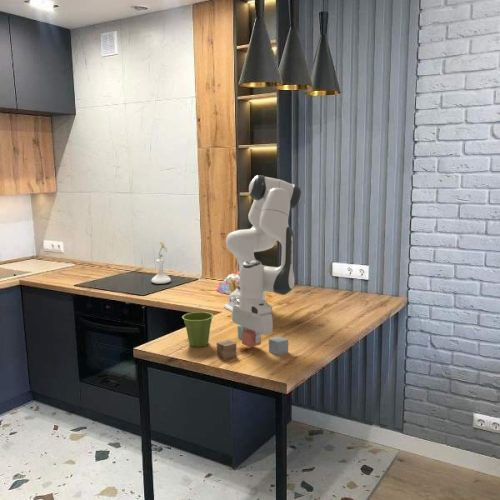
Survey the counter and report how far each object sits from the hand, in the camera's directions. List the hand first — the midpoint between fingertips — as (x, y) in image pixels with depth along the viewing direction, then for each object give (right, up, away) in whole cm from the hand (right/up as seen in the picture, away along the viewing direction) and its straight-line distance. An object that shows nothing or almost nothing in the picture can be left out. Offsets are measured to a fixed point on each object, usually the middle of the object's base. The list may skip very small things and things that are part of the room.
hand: (251, 339), depth 191 cm
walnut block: (-9, -5, -7) cm, 12 cm away
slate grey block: (+10, -4, -4) cm, 11 cm away
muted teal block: (-2, -1, +12) cm, 13 cm away
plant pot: (-20, -3, +5) cm, 21 cm away
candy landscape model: (-8, +11, +94) cm, 94 cm away
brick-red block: (0, -2, 0) cm, 2 cm away
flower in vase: (-53, +14, +111) cm, 124 cm away
